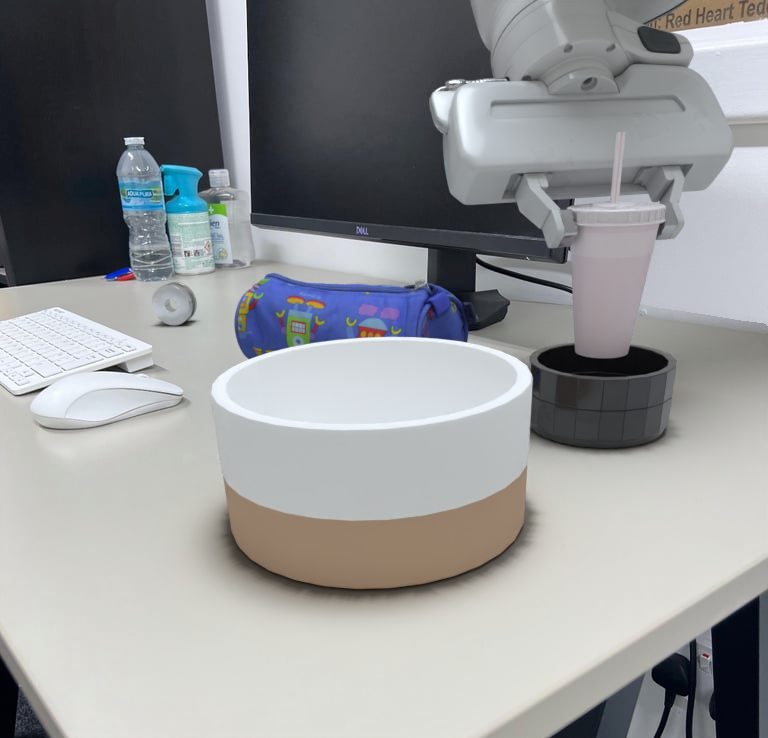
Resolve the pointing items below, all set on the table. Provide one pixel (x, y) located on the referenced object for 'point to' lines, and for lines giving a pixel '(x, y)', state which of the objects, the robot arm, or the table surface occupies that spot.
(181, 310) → the metal grooved wheel
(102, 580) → the table surface
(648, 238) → the smoothie
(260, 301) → the pencil case
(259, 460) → the bowl
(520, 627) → the table surface
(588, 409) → the dark grey round pot
